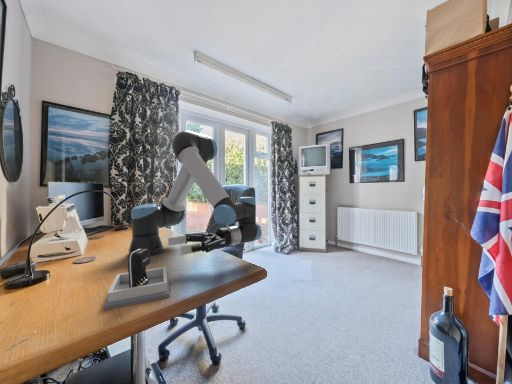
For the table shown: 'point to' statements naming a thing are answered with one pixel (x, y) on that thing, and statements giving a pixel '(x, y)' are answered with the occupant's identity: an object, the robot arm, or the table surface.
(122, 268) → the table surface
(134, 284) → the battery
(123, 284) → the tray
